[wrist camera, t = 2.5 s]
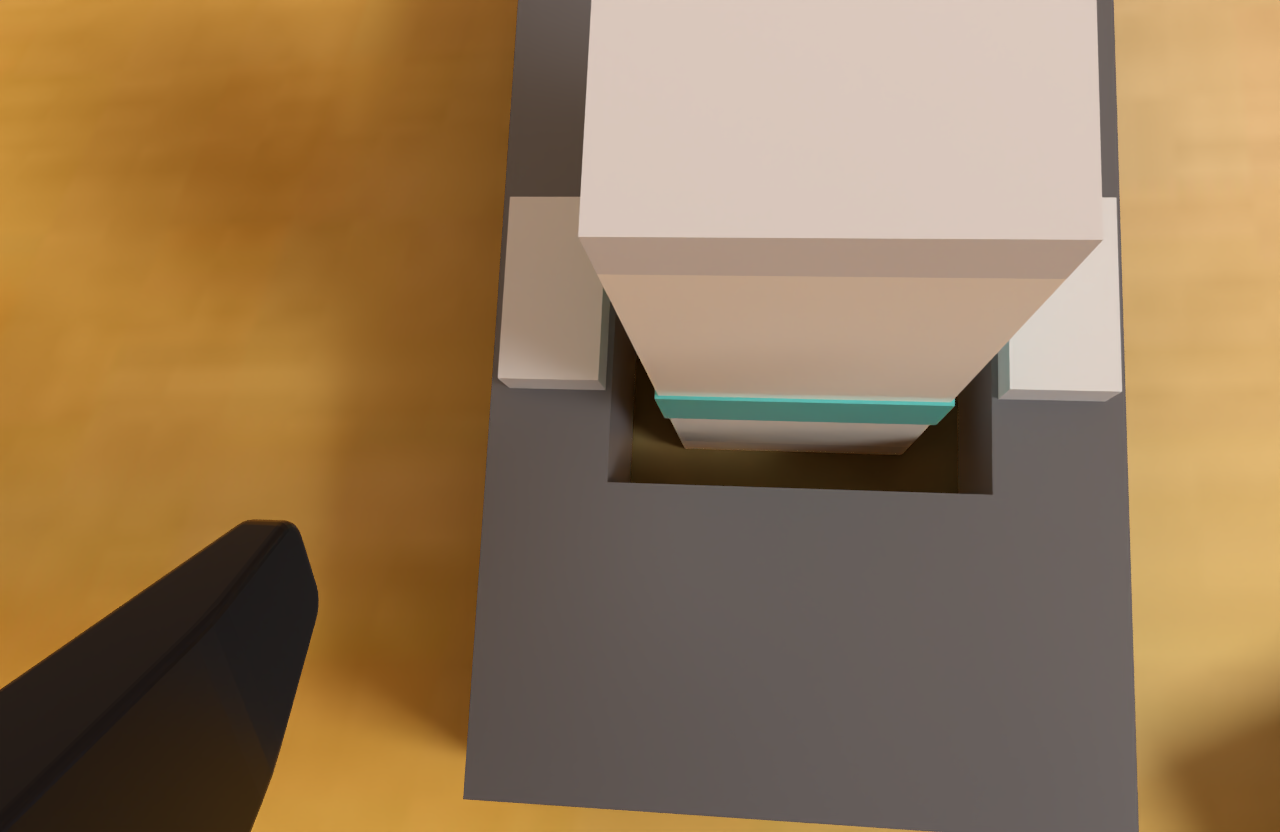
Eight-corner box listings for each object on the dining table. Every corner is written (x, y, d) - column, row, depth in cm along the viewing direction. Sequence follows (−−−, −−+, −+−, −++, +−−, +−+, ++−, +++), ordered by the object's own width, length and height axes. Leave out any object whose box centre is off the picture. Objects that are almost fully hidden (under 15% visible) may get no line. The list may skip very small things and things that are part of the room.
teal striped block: (904, 457, 20) (1110, 246, 8) (681, 451, 20) (572, 243, 9) (905, 243, 21) (1096, -238, 9) (689, 242, 21) (597, -217, 9)
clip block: (1079, 806, 18) (1159, 859, 15) (508, 770, 20) (449, 808, 16) (1060, -48, 21) (1124, -186, 17) (558, -35, 22) (516, -163, 19)
